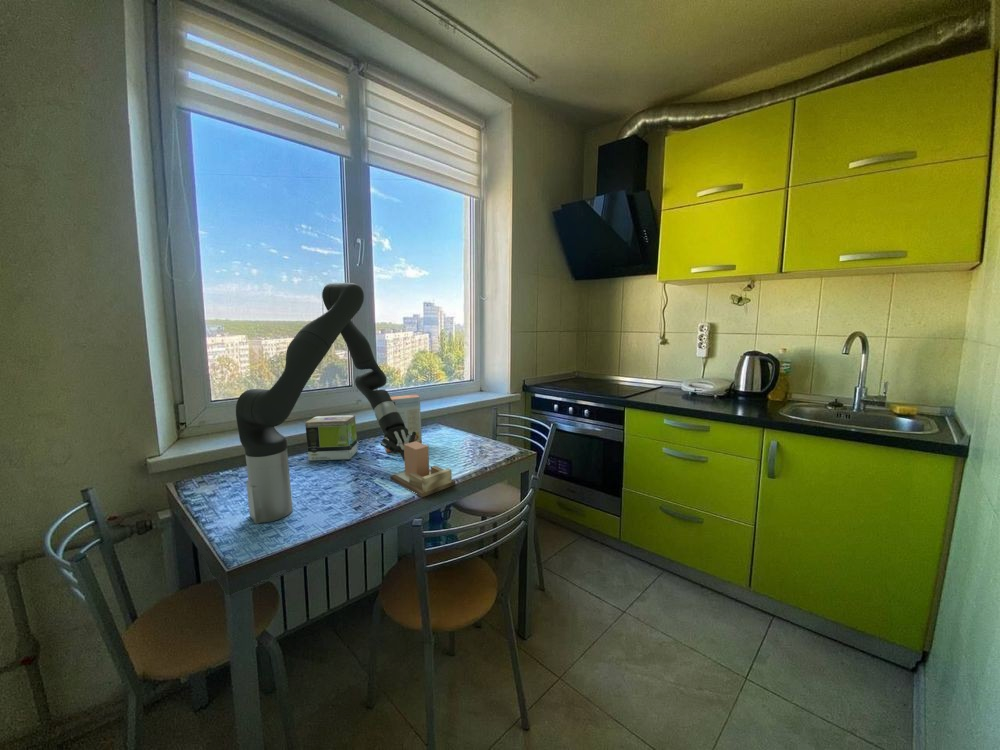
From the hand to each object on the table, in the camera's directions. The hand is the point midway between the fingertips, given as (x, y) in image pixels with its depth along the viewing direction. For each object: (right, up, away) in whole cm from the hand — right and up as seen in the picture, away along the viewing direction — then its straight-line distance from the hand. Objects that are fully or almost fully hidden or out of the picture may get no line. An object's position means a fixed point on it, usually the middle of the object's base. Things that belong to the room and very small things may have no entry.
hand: (409, 460), depth 125 cm
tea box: (-33, -3, +20) cm, 39 cm away
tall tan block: (+3, -4, -2) cm, 6 cm away
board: (+5, -6, -4) cm, 9 cm away
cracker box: (-9, -1, +28) cm, 30 cm away
